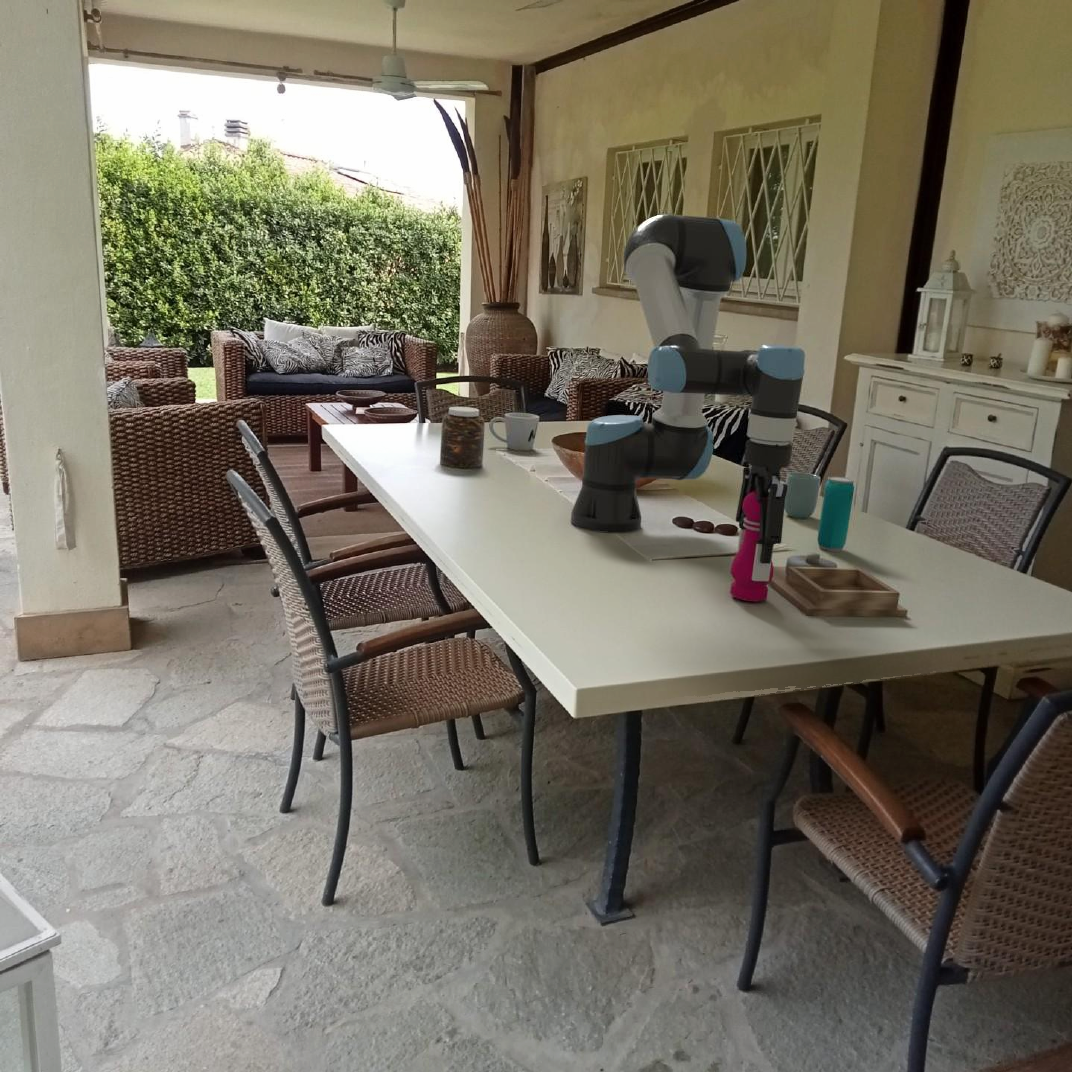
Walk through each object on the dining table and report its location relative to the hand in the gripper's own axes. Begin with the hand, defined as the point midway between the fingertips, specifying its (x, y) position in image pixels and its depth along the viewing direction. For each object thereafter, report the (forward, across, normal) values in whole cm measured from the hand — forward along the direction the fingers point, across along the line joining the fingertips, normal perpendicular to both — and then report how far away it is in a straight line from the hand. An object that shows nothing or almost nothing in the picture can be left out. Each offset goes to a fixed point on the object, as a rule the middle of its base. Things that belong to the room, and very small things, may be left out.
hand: (751, 572), depth 170 cm
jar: (+6, +110, +40) cm, 117 cm away
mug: (+6, +139, +22) cm, 141 cm away
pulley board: (+5, +4, -16) cm, 17 cm away
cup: (+5, +62, -36) cm, 72 cm away
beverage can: (+5, +34, -31) cm, 46 cm away
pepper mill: (+4, 0, 0) cm, 4 cm away
